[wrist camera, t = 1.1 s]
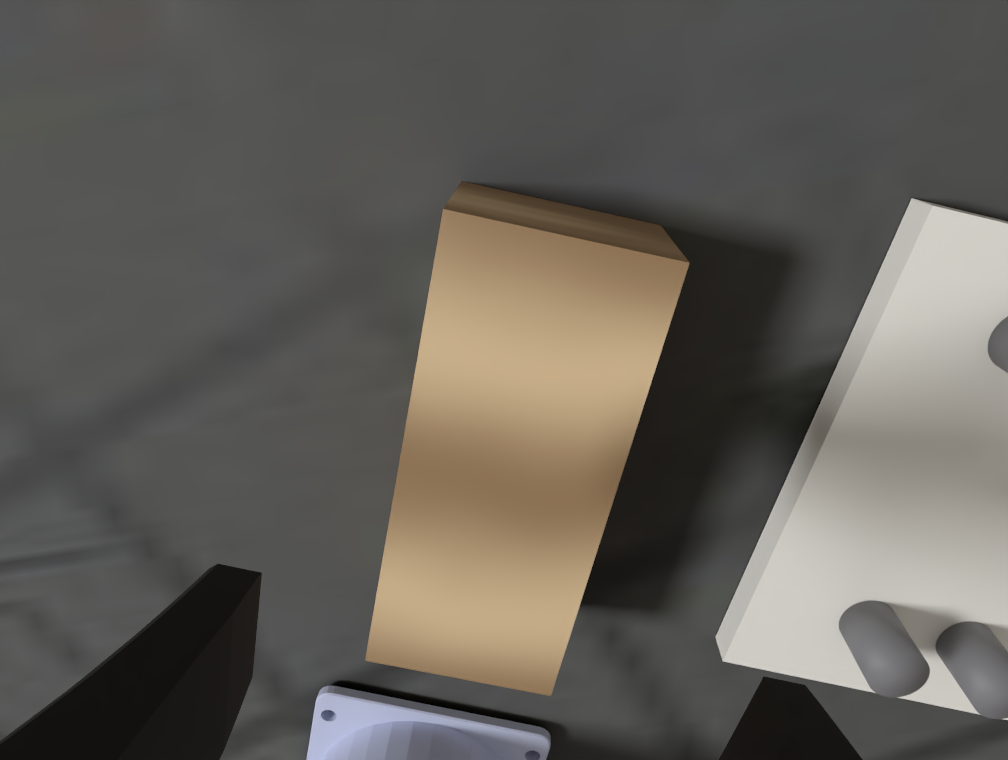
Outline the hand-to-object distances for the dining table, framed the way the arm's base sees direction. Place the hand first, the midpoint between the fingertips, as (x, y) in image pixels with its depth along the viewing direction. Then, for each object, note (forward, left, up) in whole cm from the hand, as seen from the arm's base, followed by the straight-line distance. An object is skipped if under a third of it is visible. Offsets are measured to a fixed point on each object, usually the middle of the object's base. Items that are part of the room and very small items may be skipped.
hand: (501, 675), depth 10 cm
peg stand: (0, -13, -10) cm, 17 cm away
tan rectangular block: (-1, 0, -11) cm, 11 cm away
